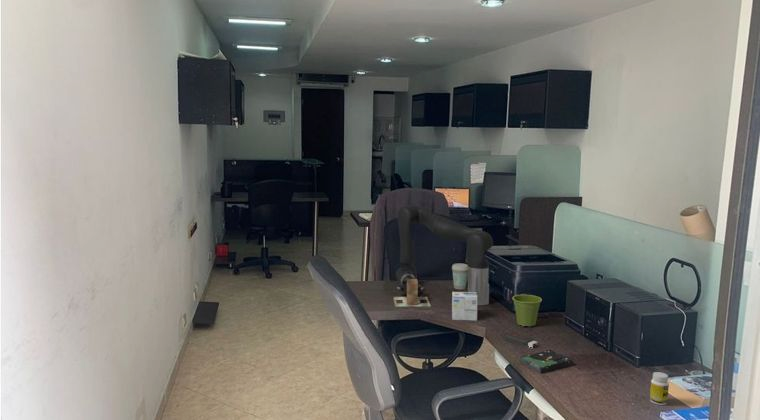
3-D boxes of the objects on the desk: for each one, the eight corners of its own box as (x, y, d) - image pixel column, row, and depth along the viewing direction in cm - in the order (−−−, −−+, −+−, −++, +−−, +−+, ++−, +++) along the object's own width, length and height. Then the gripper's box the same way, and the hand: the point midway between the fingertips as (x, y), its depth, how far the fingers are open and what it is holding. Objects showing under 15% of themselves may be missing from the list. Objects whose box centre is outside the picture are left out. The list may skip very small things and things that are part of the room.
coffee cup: (449, 286, 298) (450, 263, 296) (465, 285, 299) (466, 263, 297) (453, 290, 289) (454, 267, 288) (470, 290, 290) (470, 266, 289)
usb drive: (512, 337, 224) (512, 331, 223) (538, 346, 215) (539, 339, 214) (504, 341, 220) (504, 334, 220) (530, 350, 211) (531, 342, 211)
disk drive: (549, 356, 206) (518, 364, 198) (550, 349, 205) (519, 356, 198) (572, 367, 197) (540, 375, 189) (573, 359, 196) (541, 367, 189)
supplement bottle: (664, 407, 167) (666, 379, 166) (647, 402, 170) (649, 374, 169) (669, 401, 170) (671, 374, 169) (652, 396, 173) (654, 369, 172)
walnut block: (416, 302, 263) (416, 278, 262) (417, 305, 259) (417, 281, 257) (406, 302, 263) (407, 278, 262) (407, 305, 259) (407, 281, 257)
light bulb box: (476, 316, 249) (477, 291, 248) (477, 321, 242) (478, 296, 241) (451, 315, 250) (452, 291, 249) (451, 320, 243) (452, 295, 242)
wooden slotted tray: (427, 299, 273) (427, 296, 272) (430, 309, 258) (430, 306, 257) (393, 299, 272) (393, 296, 272) (394, 309, 257) (394, 306, 257)
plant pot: (517, 318, 246) (518, 292, 245) (544, 323, 239) (546, 297, 238) (506, 325, 237) (507, 299, 235) (534, 331, 230) (535, 304, 228)
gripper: (395, 275, 279) (397, 284, 262) (422, 275, 279) (426, 284, 262) (395, 290, 280) (397, 300, 263) (422, 290, 280) (426, 300, 263)
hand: (411, 292), depth 263 cm, fingers closed
